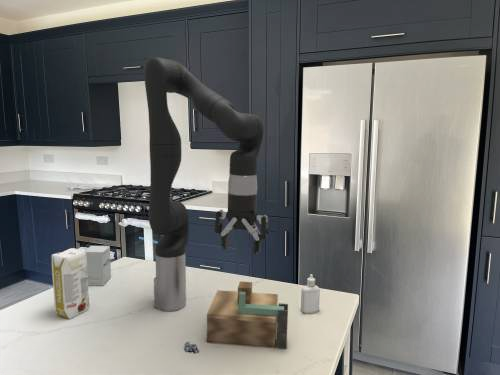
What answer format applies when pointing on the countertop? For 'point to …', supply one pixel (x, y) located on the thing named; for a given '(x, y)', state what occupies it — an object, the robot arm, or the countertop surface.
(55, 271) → the juice carton
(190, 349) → the blueberries
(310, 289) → the eye dropper bottle
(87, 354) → the countertop surface
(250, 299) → the lid
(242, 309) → the green bar
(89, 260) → the supplement box
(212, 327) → the wooden box
